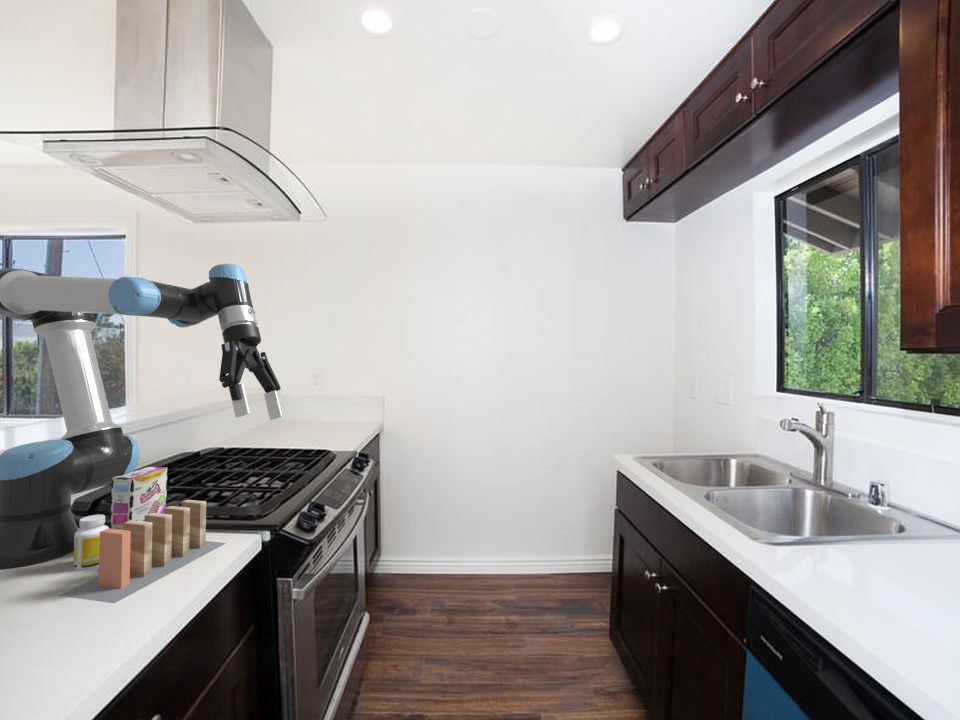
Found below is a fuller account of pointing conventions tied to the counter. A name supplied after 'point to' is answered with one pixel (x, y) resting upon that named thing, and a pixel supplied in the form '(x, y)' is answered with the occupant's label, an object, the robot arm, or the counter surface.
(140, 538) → the domino
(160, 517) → the domino
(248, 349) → the robot arm
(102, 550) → the domino
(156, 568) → the mat
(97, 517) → the supplement bottle
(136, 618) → the counter surface
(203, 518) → the domino
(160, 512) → the candy bar box
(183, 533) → the domino
